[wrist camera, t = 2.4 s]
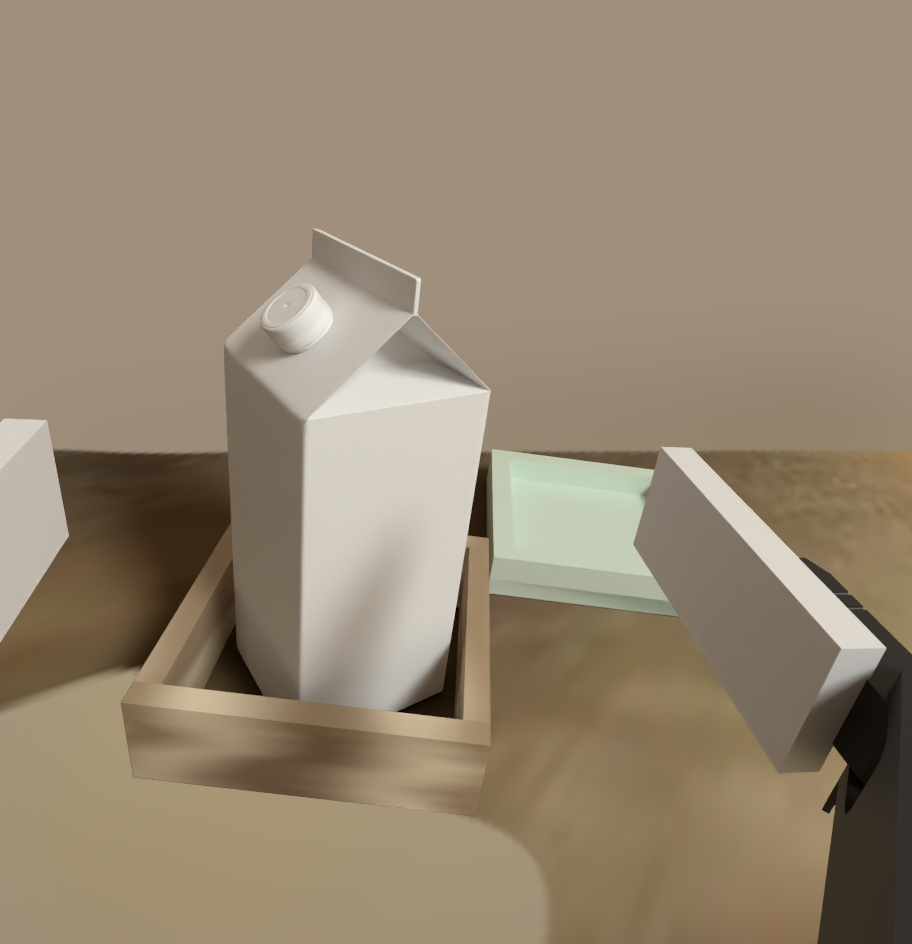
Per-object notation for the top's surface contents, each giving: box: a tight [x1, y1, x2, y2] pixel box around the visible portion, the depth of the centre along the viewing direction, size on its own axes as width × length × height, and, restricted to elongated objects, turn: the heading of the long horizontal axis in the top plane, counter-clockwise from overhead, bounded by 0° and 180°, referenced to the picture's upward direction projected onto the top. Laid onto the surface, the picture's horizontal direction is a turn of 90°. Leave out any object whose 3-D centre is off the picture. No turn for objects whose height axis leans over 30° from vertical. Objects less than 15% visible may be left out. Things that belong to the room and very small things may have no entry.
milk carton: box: [224, 229, 491, 712], centre depth 27 cm, size 7×7×19 cm
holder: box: [121, 523, 491, 816], centre depth 30 cm, size 13×13×4 cm
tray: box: [487, 449, 679, 617], centre depth 43 cm, size 13×13×2 cm
